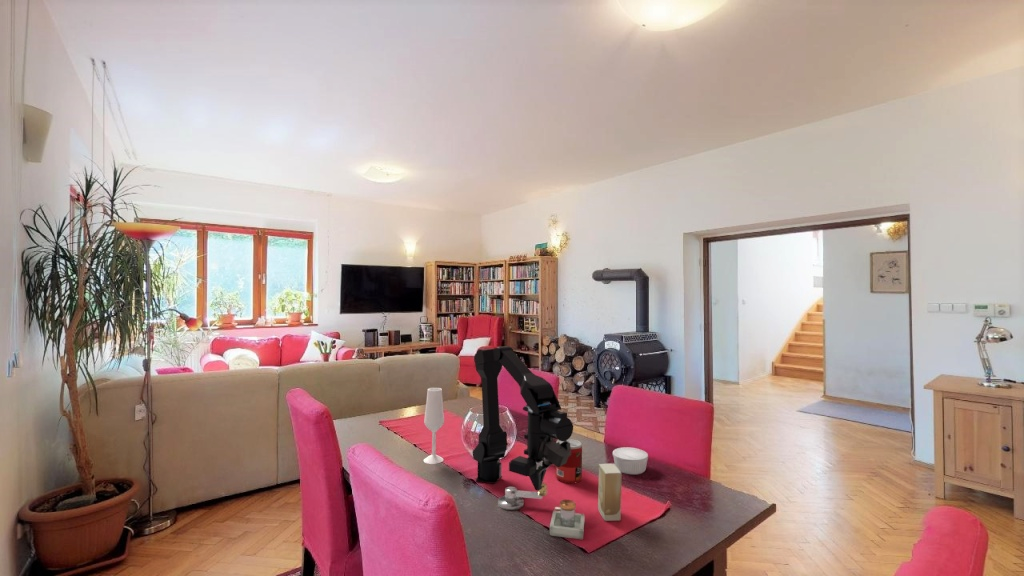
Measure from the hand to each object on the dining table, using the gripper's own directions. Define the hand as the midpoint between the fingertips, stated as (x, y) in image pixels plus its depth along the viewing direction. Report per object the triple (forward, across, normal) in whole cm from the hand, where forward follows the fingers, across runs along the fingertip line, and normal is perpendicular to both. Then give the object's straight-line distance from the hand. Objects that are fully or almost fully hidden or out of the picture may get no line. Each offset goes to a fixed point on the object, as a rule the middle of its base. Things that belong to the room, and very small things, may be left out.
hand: (537, 490), depth 115 cm
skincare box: (+6, +9, -16) cm, 19 cm away
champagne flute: (+5, +8, +46) cm, 47 cm away
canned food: (+6, +23, +3) cm, 23 cm away
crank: (+5, 0, +4) cm, 6 cm away
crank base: (+5, -1, +8) cm, 9 cm away
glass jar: (+5, -3, -11) cm, 12 cm away
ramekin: (+6, +41, -10) cm, 43 cm away
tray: (+5, -3, -11) cm, 12 cm away
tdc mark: (+5, +4, -5) cm, 8 cm away
